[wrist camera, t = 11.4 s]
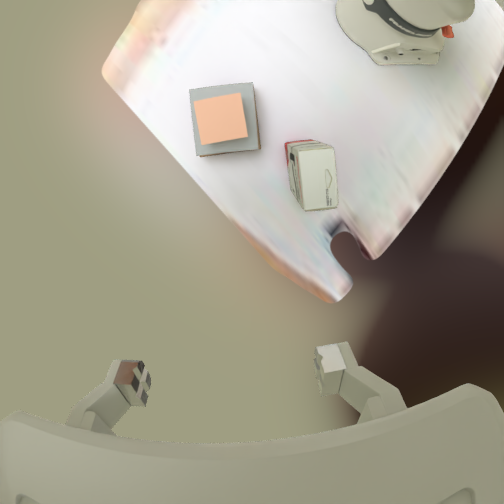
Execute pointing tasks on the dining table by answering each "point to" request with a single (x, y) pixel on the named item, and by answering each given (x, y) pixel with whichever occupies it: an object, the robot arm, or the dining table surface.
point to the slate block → (249, 114)
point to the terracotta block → (220, 118)
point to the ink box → (312, 174)
